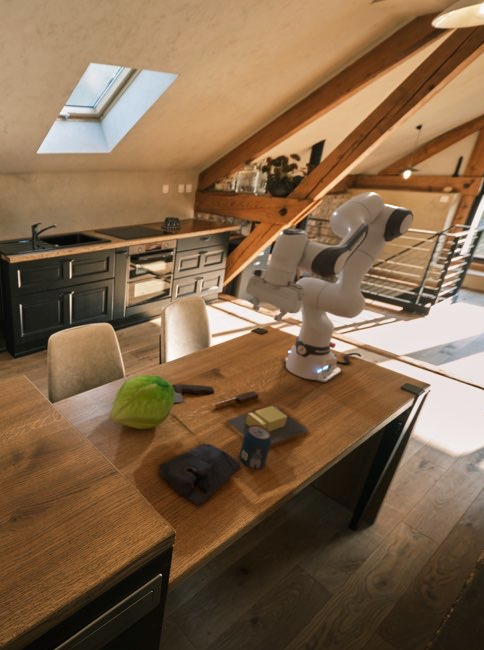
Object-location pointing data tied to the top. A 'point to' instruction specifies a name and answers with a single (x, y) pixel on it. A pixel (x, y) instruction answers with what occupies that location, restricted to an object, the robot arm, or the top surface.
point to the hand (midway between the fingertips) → (266, 314)
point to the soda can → (255, 447)
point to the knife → (238, 399)
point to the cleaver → (190, 390)
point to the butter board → (275, 433)
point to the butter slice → (254, 420)
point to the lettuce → (142, 402)
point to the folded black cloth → (199, 471)
